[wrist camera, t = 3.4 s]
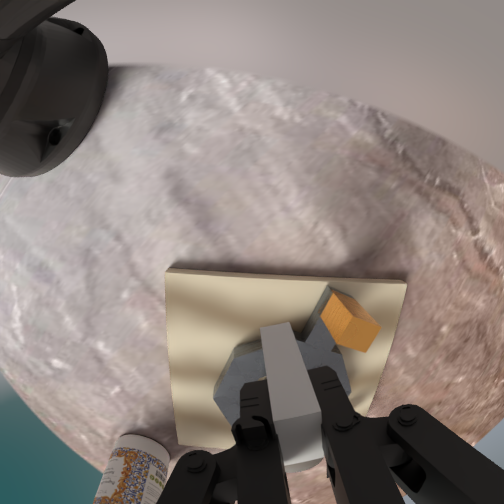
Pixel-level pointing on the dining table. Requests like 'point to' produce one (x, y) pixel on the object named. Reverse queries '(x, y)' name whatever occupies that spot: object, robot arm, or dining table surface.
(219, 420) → the post base
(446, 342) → the dining table surface
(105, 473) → the bath foam
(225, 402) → the flange
